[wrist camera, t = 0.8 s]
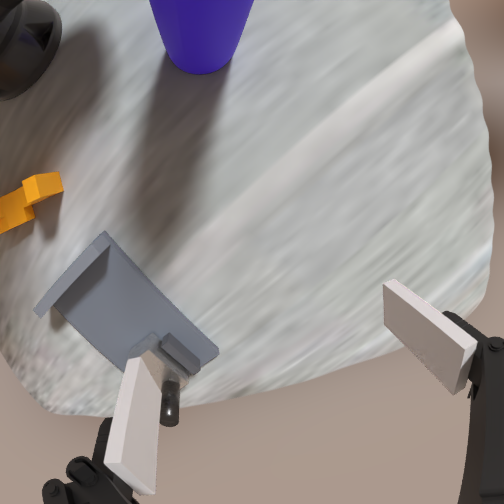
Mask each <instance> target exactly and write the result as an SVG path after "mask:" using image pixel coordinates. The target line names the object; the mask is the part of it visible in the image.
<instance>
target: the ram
mask: <svg viewBox="0 0 504 504" xmlns="http://www.w3.org/2000/svg"><path fill="white" fill-rule="evenodd" d="M161 345H162V340H160V339H159V338H158V337H157V336H156V335H155V334H154V333H153V332H152V333H151V334H150V335H148V336H147V337H146V338H145V339H143V340H142V341H141V342H140V343H138V344H137V345H136V346H134V347H133V348H132V349H131V350H130V352H129V355H128V358H127V361H128V359H132V358H137V357H141V358H142V360H143V362H144V363H145V365H146V367H147V369H148V371H149V372H150V374H151V376H152V378H153V379H154V381H155V383H156V384H157V386H158V388H159V389H160V391H161V393H162V397H161V409H160V421H159V423H160V424H162V425H164V426H166V427H173V426H176V425H177V424H178V422H179V399H180V389H181V388H183V387H184V386H186V385H187V384H189V371H188V370H187V369H186V368H185V367H184V366H182V365H181V364H180V363H179V362H178V361H177V360H175V359H174V358H173V357H172V356H171V355H170V354H168V353H167V352H166V351H165V350H164V349H163V348H162V347H161ZM126 365H127V362H126ZM126 365H125V368H126Z"/></svg>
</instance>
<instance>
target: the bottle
mask: <svg viewBox="0 0 504 504" xmlns="http://www.w3.org/2000/svg"><path fill="white" fill-rule="evenodd" d="M149 1H150V5H151V8H152V11H153V14H154V17H155V20H156V23H157V26H158V29H159V32H160V35H161V38H162V40H163V43H164V46H165V48H166V51H167V53H168V55H169V57H170V59H171V60H172V62H173V63H174V64H175V65H176V66H177V67H178V68H180V69H181V70H183V71H185V72H188V73H191V74H207V73H211V72H214V71H216V70H218V69H220V68H222V67H223V66H224V65H225V64H226V63H227V62H228V61H229V60H230V59H231V57H232V56H233V54H234V52H235V50H236V47H237V45H238V42H239V40H240V37H241V35H242V32H243V29H244V26H245V23H246V21H247V18H248V15H249V12H250V10H251V7H252V4H253V1H254V0H149Z"/></svg>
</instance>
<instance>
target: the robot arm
mask: <svg viewBox="0 0 504 504" xmlns="http://www.w3.org/2000/svg"><path fill="white" fill-rule="evenodd" d="M61 33H62V23H61V18H60V16H59V14H58V12H57V11H56V10H55V9H54V8H53V7H52V6H51V5H50V4H48V3H46V2H44V1H41V0H0V100H8V99H11V98H14V97H16V96H18V95H20V94H21V93H23V92H24V91H26V90H27V89H28V88H29V87H30V86H32V85H33V84H34V83H35V82H36V81H37V80H38V78H39V77H40V76H41V75H42V74H43V72H44V71H45V70H46V68H47V67H48V65H49V64H50V62H51V60H52V59H53V57H54V55H55V53H56V50H57V48H58V45H59V42H60V38H61ZM383 300H384V325H385V326H386V327H387V328H388V329H389V330H390V331H391V332H392V333H393V334H394V335H395V336H396V337H397V338H398V339H399V340H400V341H401V342H402V343H403V344H404V345H405V346H406V347H407V348H408V349H409V350H410V351H411V352H412V353H413V354H414V355H415V356H416V357H417V358H418V359H419V360H420V361H421V362H422V363H423V364H424V365H425V367H426V368H427V369H428V370H429V371H430V372H431V373H432V374H433V375H434V376H435V377H436V378H437V379H438V380H439V381H440V382H441V383H442V384H443V385H444V386H445V387H446V389H447V390H448V391H449V392H450V393H451V394H452V395H455V394H456V393H458V392H459V391H461V390H462V389H464V388H465V386H466V383H467V380H468V379H469V380H470V381H471V382H472V385H471V388H470V391H469V394H468V398H470V395H471V407H470V424H469V436H468V446H467V454H466V462H465V468H464V474H463V480H462V485H461V491H460V495H459V500H458V504H504V339H502V338H500V337H490V338H487V337H486V336H485V335H483V334H482V333H481V332H479V331H478V330H477V329H476V328H474V327H473V326H472V325H470V324H468V323H467V322H466V321H465V320H463V319H462V318H461V317H459V316H458V315H457V314H455V313H452V312H449V311H444V312H443V313H440V312H439V311H438V310H436V309H435V308H434V307H432V306H431V305H430V304H428V303H427V302H426V301H424V300H423V299H421V298H420V297H419V296H417V295H416V294H415V293H413V292H412V291H410V290H409V289H408V288H406V287H405V286H404V285H402V284H401V283H399V282H398V281H397V280H395V279H393V280H390V281H387V282H385V283H383ZM161 397H162V393H161V391H160V389H159V388H158V386H157V384H156V383H155V381H154V379H153V378H152V376H151V374H150V372H149V371H148V369H147V367H146V365H145V363H144V362H143V360H142V358H141V357H137V358H132V359H128V361H127V365H126V368H125V372H124V376H123V380H122V383H121V387H120V391H119V395H118V399H117V403H116V407H115V411H114V416H113V417H110V418H105V420H104V421H103V422H102V424H101V425H100V428H99V432H98V437H97V440H96V444H95V448H94V453H93V458H92V461H91V460H90V459H89V458H88V457H84V456H79V457H76V458H74V459H72V461H70V462H69V464H68V465H67V468H66V474H67V477H68V478H69V479H70V480H72V481H73V482H71V483H67V484H64V483H63V482H61V481H60V480H59V479H51V480H49V481H47V482H46V483H45V484H44V486H43V489H42V496H43V502H44V504H139V503H138V502H137V501H136V499H134V498H133V497H132V494H133V490H134V491H135V492H136V493H137V494H139V495H155V494H156V469H157V449H158V434H159V421H160V409H161Z"/></svg>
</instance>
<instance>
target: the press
mask: <svg viewBox="0 0 504 504" xmlns="http://www.w3.org/2000/svg"><path fill="white" fill-rule="evenodd" d="M52 305H53V306H54V307H55V308H56V309H57V310H58V311H59V312H60V313H61V314H62V315H63V316H64V317H65V318H66V319H67V320H68V321H69V322H70V323H71V324H72V326H73V327H74V328H75V329H77V330H78V331H79V332H80V333H81V334H82V335H83V336H84V337H85V338H86V339H87V340H88V341H89V342H90V343H91V344H92V345H93V346H94V347H95V348H96V349H98V350H99V351H100V352H101V353H102V354H103V355H104V356H105V357H106V358H108V359H109V360H110V361H111V362H112V363H113V364H114V365H116V366H117V367H118V368H119V369H120V370H121V371H123V372H125V365H126V362H127V358H128V355H129V352H130V350H131V349H132V348H133V347H134V346H136V345H137V344H138V343H140V342H141V341H142V340H143V339H145V338H146V337H147V336H148V335H150V334H151V333H152V332H153V333H154V334H155V335H156V336H157V337H158V338H159V339H160V340H162V345H161V347H162V348H163V349H164V350H165V351H166V352H167V353H168V354H170V355H171V356H172V357H173V358H174V359H175V360H177V361H178V362H179V363H180V364H181V365H182V366H184V367H185V368H186V369H187V370H188V371H189V375H190V374H191V373H192V374H193V375H194V374H196V373H197V372H199V371H200V367H201V366H203V365H204V364H206V363H207V362H209V361H210V360H212V359H213V358H214V357H216V356H217V355H219V348H218V347H217V346H216V345H215V344H214V343H213V342H211V341H210V340H209V339H208V338H207V337H206V336H205V335H204V334H203V333H202V332H201V331H200V330H199V329H198V328H197V327H196V326H195V325H194V324H192V323H191V322H190V321H189V320H188V319H187V318H186V317H185V316H184V315H183V314H182V313H181V312H180V311H179V310H178V309H177V308H176V307H175V306H174V305H173V304H172V303H171V302H170V301H169V300H168V299H167V298H166V297H165V296H164V295H163V294H162V293H161V292H160V290H159V289H158V288H157V287H156V286H155V285H154V284H153V283H152V282H151V281H150V280H149V279H148V278H147V277H146V276H145V275H144V274H143V273H142V271H141V270H140V269H139V268H138V267H137V266H136V265H135V264H134V263H133V262H132V261H131V259H130V258H129V257H128V256H127V255H126V254H125V253H124V252H123V251H122V249H121V248H120V247H119V246H118V245H117V244H116V243H115V241H114V240H113V239H112V238H111V237H110V236H109V235H108V233H107V232H106V231H103V232H102V233H101V234H100V235H99V236H98V237H97V238H96V239H95V240H94V241H93V242H92V243H91V244H90V245H89V246H88V247H87V248H86V249H85V250H84V251H83V252H82V254H81V255H80V256H79V257H78V258H77V259H76V260H75V261H74V262H73V263H72V264H71V265H70V267H69V268H68V269H67V270H66V271H65V272H64V273H63V274H62V275H61V277H60V278H59V279H58V280H57V281H56V282H55V283H54V285H53V286H52V287H51V288H50V289H49V290H48V292H47V293H46V294H45V295H44V297H43V298H42V299H41V301H40V302H39V303H38V304H37V305H36V307H35V308H34V309H33V311H34V312H35V313H36V314H37V315H38V316H39V317H40V318H42V317H43V315H44V314H45V313H46V312H47V311H48V310H49V309H50V307H51V306H52Z"/></svg>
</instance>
